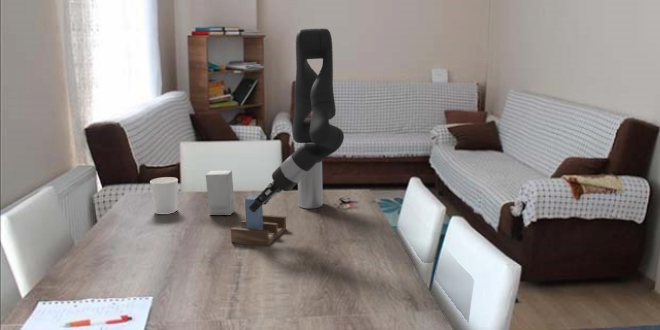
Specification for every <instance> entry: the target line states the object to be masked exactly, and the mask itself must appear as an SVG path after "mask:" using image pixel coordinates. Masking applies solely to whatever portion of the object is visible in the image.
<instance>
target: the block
mask: <svg viewBox="0 0 660 330" xmlns="http://www.w3.org/2000/svg"><path fill="white" fill-rule="evenodd" d="M258 196H259V195H249V196H248V197H245V199H244V204H245V205H244V209H245V211H244V212H245V221H246V229H256V230H263V215H264V211H263V205H261V206H260V207H259V208H258V209H257V210H256V211H255V212H252V211H251V210H250V209H249V207H250V206H251V205H252V204H253V203H254V202H255V199H256V198H257V197H258ZM260 199H261V200H262V197H261V198H260Z"/></svg>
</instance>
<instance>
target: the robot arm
mask: <svg viewBox="0 0 660 330" xmlns="http://www.w3.org/2000/svg"><path fill="white" fill-rule="evenodd" d="M332 39H333V38H332V35H331V32H330V30H329V29H328V28H303V29H300V30H298V31H297V33H296V37H295V59H296V60H295V62H296V64H295V65H296V66H295V67H296V71H295V85H294V113H293V114H294V115H293V122H292V138H293V141H294V142H295V143H297V144H301V145H300V146H298V148H297V149H296V150H295V151H294V152H292V154H290V155H289V156H288V157H287V158H286V159H285V160H283V162H282V163H281V164H280V165H279V166H278V167H277V168H276V169H275V170H274V171H273V172H272V174H271V178H272V180H273V181H272V182H270V183H269V184H268V185H267V186H266V188H264V189H263V190H262V191H261V192H260V194H258V195H257V196H258V197H257V198H256V199H255V202H254V203H253V204H252V205H251V206H250V207H249V209H250V210H251V211H252V212H255V211H256V210H257V209H258V208H259V207H260V206H261V205H262V206H264V205H266V204H268V203H269V202H270V201H271V200H272V199H273V198H274V197H277V195H279V194H281V192H283V191H285V192H290V191H291V190H292V189H293V188H294V187H295V186H296V185H297V202H298V203H297V205H298V206H297V207H298V208H303V209H319V208H321V207H323V204H324V203H323V199H324V197H323V159H325V158H327V157H329V156H330V155H333V153H335V152H336V151H337V150H339V148H341V146H342V144H343V143H344V140H345V135H344V132H343V130H342V129H340V128H339V127H338V126H335V125H333V124H332V123H331V124H330V120H332V119H333V118H334V117H335V116H336V113H337V111H336V103H335V95H334V94H335V93H334V84H333V83H334V74H333V73H334V60H333V59H334V57H333V55H334V54H333V40H332ZM319 59H320V60H322V65H321V69H320V71H319V72H318V73H317V72H315V70H314V69H313V68H312V66H310V63H309V62H308V60H319ZM310 114H311V117H308V116H309V115H310ZM261 197H262V200H261V199H260V198H261Z"/></svg>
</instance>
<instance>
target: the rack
mask: <svg viewBox="0 0 660 330" xmlns="http://www.w3.org/2000/svg"><path fill="white" fill-rule="evenodd" d="M286 230H287V216H285V215H283V216H282V215H273V214H263V230H256V229H246V219H245V220H243V219H242V220H241V222H240V227H232V228H230V242H236V243H235V244H240V243H243V245H250V244H252V245H251V246H260V245H261V246H262V247H268V246H269V245H270V244H272V242H274V241H275V240H276V239H277V238H278V237H279V236H280V235H281V234H282V233H284V232H285V231H286Z"/></svg>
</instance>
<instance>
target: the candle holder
mask: <svg viewBox="0 0 660 330" xmlns="http://www.w3.org/2000/svg"><path fill="white" fill-rule="evenodd" d="M178 181H179V179H178V178H177V177H173V176H172V177H171V176H169V177H168V176H165V177H157V178H153V179H151V180H150V181H149V184H150V185H149V186H150V190H151V198H152V204H153V211H155V212H157V213H170V212H175V211H177V210H178V211H179V196H178V195H179V191H178V190H179V187H178V185H179V184H178V183H179V182H178ZM178 211H177V212H178ZM155 212H154V213H155Z"/></svg>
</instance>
